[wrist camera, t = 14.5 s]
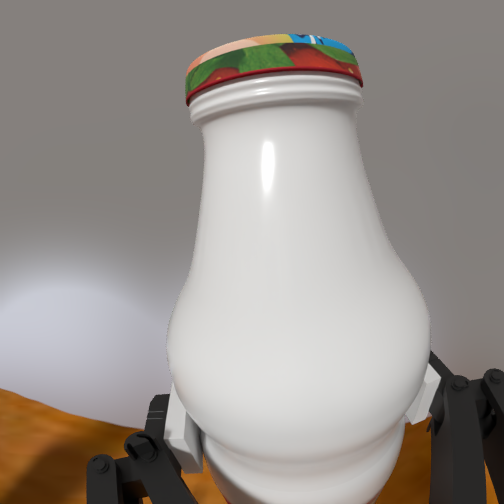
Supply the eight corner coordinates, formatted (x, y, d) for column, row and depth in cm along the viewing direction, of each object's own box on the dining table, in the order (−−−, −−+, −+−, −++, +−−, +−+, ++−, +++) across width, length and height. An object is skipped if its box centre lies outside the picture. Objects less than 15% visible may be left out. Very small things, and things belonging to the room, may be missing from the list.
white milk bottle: (335, 574, 10) (457, -58, 1) (223, 537, 15) (37, 104, 6) (375, 483, 18) (427, 80, 9) (276, 460, 22) (225, 104, 13)
